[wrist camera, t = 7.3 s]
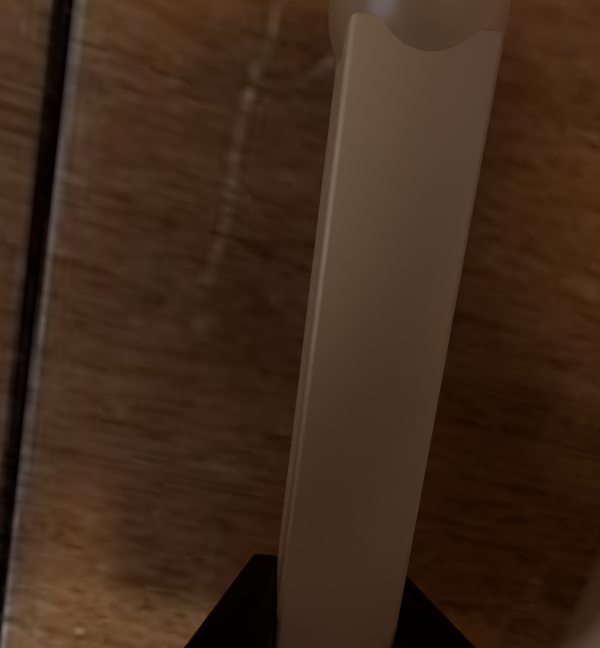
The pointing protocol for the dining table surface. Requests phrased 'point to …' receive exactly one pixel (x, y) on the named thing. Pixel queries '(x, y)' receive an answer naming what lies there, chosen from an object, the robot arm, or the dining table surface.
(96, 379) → the dining table surface
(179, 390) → the dining table surface
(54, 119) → the dining table surface
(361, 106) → the beige rounded rod
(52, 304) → the dining table surface
